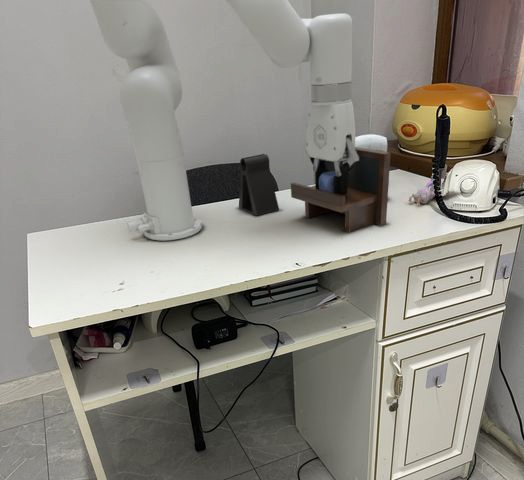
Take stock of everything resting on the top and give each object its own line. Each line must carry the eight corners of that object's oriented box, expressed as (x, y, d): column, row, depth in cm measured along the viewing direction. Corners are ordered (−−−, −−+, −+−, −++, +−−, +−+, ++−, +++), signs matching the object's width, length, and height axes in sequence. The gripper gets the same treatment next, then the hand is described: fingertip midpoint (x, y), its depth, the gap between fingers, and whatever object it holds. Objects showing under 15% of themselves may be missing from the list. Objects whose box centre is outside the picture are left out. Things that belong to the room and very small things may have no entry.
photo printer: (381, 182, 128) (384, 131, 121) (387, 186, 124) (390, 134, 118) (343, 186, 127) (344, 135, 120) (348, 190, 123) (349, 138, 117)
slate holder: (344, 238, 96) (346, 163, 88) (288, 218, 109) (285, 151, 101) (386, 224, 101) (390, 152, 93) (327, 206, 114) (327, 142, 106)
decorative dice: (326, 197, 99) (326, 177, 97) (318, 192, 102) (318, 173, 100) (344, 194, 100) (344, 174, 97) (336, 189, 103) (336, 170, 101)
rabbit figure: (424, 213, 108) (470, 189, 113) (423, 187, 105) (472, 163, 109) (403, 207, 113) (449, 184, 117) (402, 182, 109) (449, 159, 114)
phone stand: (279, 210, 114) (275, 156, 107) (256, 216, 112) (252, 161, 105) (259, 202, 121) (255, 151, 114) (238, 207, 118) (233, 155, 112)
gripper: (287, 95, 95) (292, 189, 105) (347, 98, 83) (345, 204, 93) (317, 90, 99) (318, 182, 108) (378, 93, 86) (374, 196, 96)
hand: (331, 191), depth 101 cm, fingers closed on decorative dice, 5 cm apart
